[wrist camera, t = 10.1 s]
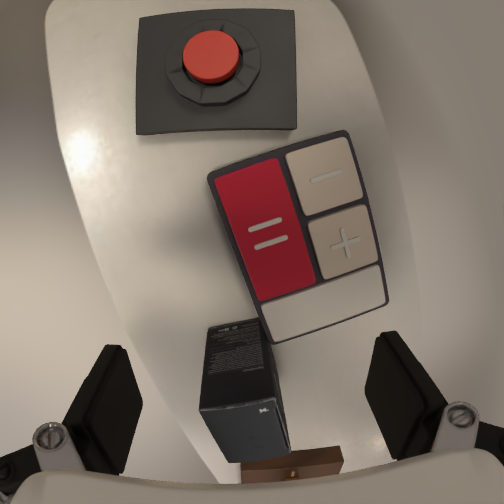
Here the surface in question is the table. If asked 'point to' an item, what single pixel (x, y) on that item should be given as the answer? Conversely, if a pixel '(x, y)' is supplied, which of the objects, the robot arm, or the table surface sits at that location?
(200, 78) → the bell button
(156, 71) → the bell block
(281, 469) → the plate
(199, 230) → the table surface
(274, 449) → the box
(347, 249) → the calculator
